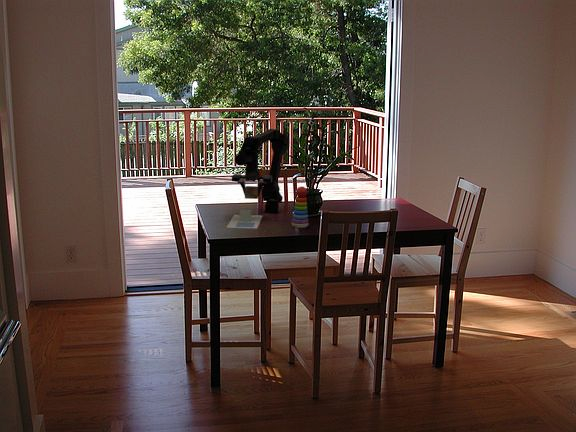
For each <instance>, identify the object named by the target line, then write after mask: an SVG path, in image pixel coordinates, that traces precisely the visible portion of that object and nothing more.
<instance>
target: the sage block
mask: <svg viewBox="0 0 576 432" xmlns="http://www.w3.org/2000/svg"><path fill="white" fill-rule="evenodd" d="M252 212H253V211H252V209H251V208H249V209H248V208H241V209H240V210H239V215H240V222H251V220H252V215H253V214H252Z"/></svg>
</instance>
